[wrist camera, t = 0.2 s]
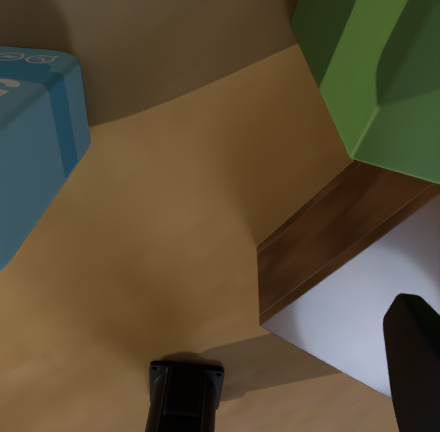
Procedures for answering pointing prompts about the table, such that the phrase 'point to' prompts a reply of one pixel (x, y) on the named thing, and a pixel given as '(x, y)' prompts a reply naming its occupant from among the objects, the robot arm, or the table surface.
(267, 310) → the cabinet
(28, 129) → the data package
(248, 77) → the table surface
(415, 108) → the green beveled box
